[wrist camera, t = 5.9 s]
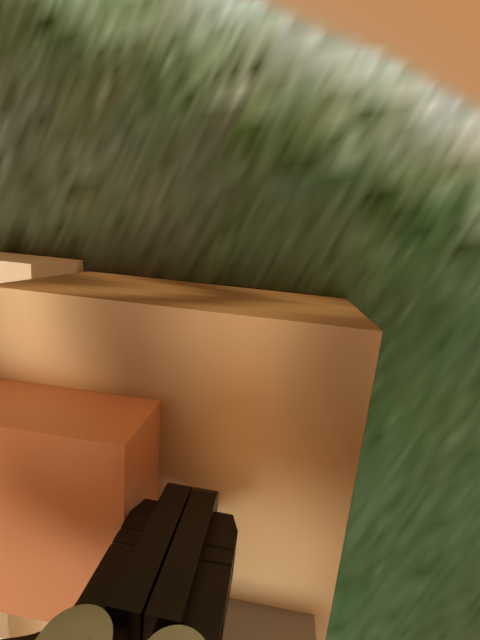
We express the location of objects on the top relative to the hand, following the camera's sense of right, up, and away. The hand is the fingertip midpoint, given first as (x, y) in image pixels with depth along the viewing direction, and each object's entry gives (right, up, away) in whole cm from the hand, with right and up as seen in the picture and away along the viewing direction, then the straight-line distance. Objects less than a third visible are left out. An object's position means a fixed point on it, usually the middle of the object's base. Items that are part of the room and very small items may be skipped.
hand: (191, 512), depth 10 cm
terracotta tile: (-4, 0, +2) cm, 5 cm away
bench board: (-1, -2, +8) cm, 8 cm away
